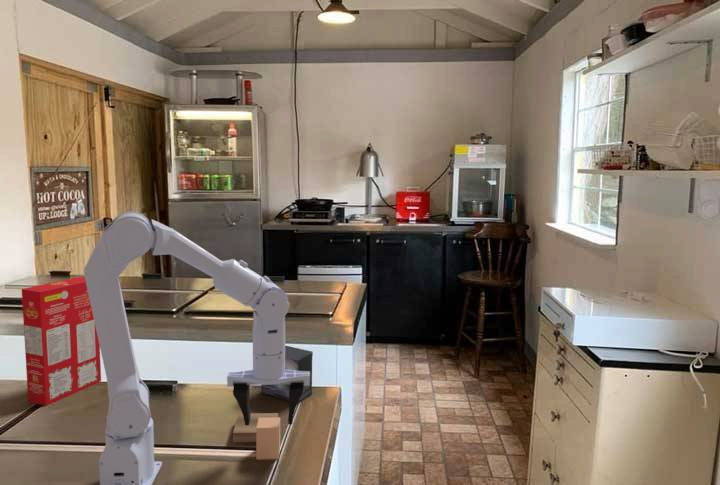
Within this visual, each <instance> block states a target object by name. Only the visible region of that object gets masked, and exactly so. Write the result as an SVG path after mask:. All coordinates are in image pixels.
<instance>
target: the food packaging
mask: <svg viewBox="0 0 720 485" xmlns="http://www.w3.org/2000/svg"><path fill="white" fill-rule="evenodd" d="M21 301H22V302H21V303H22V304H21V305H22V318H23V320H22V322H23V335H24V350H25V352H24V354H25V371H26V382H27V383H26V385H27V402H29V403H33V404H37V405H40V406H45V407H47V406H49V405H51V404H55V402H58V401H61V400H62V399H65V398H67V397H69V396H71V395H74V394H77V393H79V392H80V391H82V390H84V389H85V390H86V389H87V388H89V387H91V386H93V385H96V384H98V383H100V382H102V371H101V370H102V368H101V367H102V366H101V349H100V345H99V340H98V336H97V331H96V326H95V322H94V317H93V312H92V308H91V303H90V299H89V294H88V289H87V285H86V280H85V276H78V277H77V276H76V277H73V278H68V279H64V280H58V281H54V282H50V283H49V282H48V283H43V284H40V285H35V286H30V287H26V288H22V289H21Z"/></svg>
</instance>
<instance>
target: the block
mask: <svg viewBox="0 0 720 485" xmlns="http://www.w3.org/2000/svg"><path fill="white" fill-rule="evenodd" d="M255 443H256V450H255V451H256V455H255V456H256V458H255V459H256V460H259V461H260V460H279V459H280V455H281V454H280V452H281V417H279V416H278V417H271V418H258V423H257V428H256V442H255Z"/></svg>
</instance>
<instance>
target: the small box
mask: <svg viewBox="0 0 720 485" xmlns="http://www.w3.org/2000/svg"><path fill="white" fill-rule="evenodd" d="M313 352H314V351H310V350H308V349H303V348H298V347H293V346H289V345H285V369H288V370H296V371H309V372H310V385H309V386H304V385H303V393H302V395H301V397H300V399H299V401H298V403H297V404H299V403H301V402H303V401H304V400H305V399H307V398H309V397H310V396H311V395H313V355H314V354H313ZM260 386H261V387H260V390H261V391H260V393H261V394H263V395H267V396H270V397H274V398H277V399H281V400H284V401H288V402H289V387H290V384H278V385H260Z"/></svg>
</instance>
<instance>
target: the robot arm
mask: <svg viewBox="0 0 720 485" xmlns="http://www.w3.org/2000/svg"><path fill="white" fill-rule="evenodd" d="M150 220H151V221H150ZM150 249H151V250H150ZM149 250H150V251H151V254H152V256H161V255H162V256H163V255H170V256H173V257H175V258H177V259H178V260H181V261H182V262H184V263H186V264H188V265H189V266H192V267H194V268H195V269H197V270H199V271H201V272H203V273H204V274H205V275H208V276H210V277H211V278H212V281H213V285H214V286H213V287H214V288H215V289H216V290H217V291H219V292H221V293H223V294H225V295H226V296H228V297H230V298H232V299H233V300H235V301H236V302H238V303H240V304H241V305H244V306H245V307H251V308H252V309H253V310H254V311H253V315H252V316H253V322H252V369H249V370H241V371H233V372H232V371H231V372H228V374H227V376H226V382H227V383H226V384H227V386H226V387H227V388H228V387H231V388H232V387H233V390H232V394H233V397H234V399H235V400H236V402H237V403H238V406H239V407H240V410H241V414H243V417H244V421H245V425H249V423H250V413H251V407H250V406H251V405H250V391H251V390H250V389H251V387H250V386H251V385H252V386H258V385H259V386H261V385H278V384H290V387H289V401H288V406H289V407H288V417H287V418H288V420H287V424H288V425H293V420H294V414H295V411H296V408H297V406H298V404H299V403H298V401H299V399H300V397H301V395H302V393H303V385H304V386H309V385H310V372H309V371H296V370H288V369H285V346H286V315H287V314H288V312H289V309H290V307H291V303H290V302H289V298H288V295H287V293H286V292H285V291H284V290H283V289H282V288H280V287H279V286H278V285H277V284H275V283H274V282H273V281H272V280H271V279H270V277H268V276H267V275H264V276H261V275H260V274H258V273H257V272H255V271H253V270H252V269H250V268H249V267H248V265H249V264H248V263H247V262H245V261H244V260H242V259H239V261H237V260H236V259H235V258H231V259H227V260H221V259H219V258H218V257H216V256H215V255H213V254H212V253H210V252H209V251H207V250H205V249H204V248H203V247H201V246H200V245H198V244H196V243H195V242H193V241H192V240H190V239H189V238H187V236H184V235H183V234H181V233H180V232H178V231H176V230H175V229H173V228H171V227H169V226H168V225H166V224H164V223H161V222H159V221H156V220H154V219H149V218H147V216H145V215H144V214H143V213H140V212H138V211H125V212H122V213H120V214H118V215H117V216H116V217H115V218H114V219H113V220H112V221H110V222H109V223H108V224H107V225H106V226H105V227H104V228H103V231H102V233H101V235H100V237H99V239H98V241H97V242H96V245H95V246H94V249H93V250H92V253H91V254H90V257H89V258H88V261H87V262H86V264H85V266H84V269H83V272H84V273H83V274H84V276H83V277H85V280H86V285H87V289H88V294H89V299H90V303H91V308H92V312H93V317H94V322H95V326H96V331H97V336H98V340H99V345H100V355H101V358H102V364H103V368H104V372H105V376H106V382H107V394H108V401H109V404H108V405H109V406H108V411H107V416H106V424H105V429H104V430H105V445H104V448H103V451H102V453H101V454H100V457H99V460H98V470H99V472H98V473H99V485H153V483H154V481H155V479H156V477H157V475H158V473H159V471H160V469H161V467H162V465H163V461H155V435H154V420H153V418H152V417H151V416H152V414H151V409H150V401H149V400H150V390H149V387H148V386H147V384H146V383H145V382H144V381H143V380H142V379H141V376H140V371H139V368H138V365H137V362H136V361H137V360H136V356H135V351H134V346H133V342H132V336H131V333H130V327H129V322H128V318H127V317H128V316H127V312H126V307H125V302H124V298H123V292H122V288H121V283H120V279H119V277H120V276H121V274H122V273H123V272H124V271H125V269H127V267H128V266H129V265H130V263H132V262H134V261H136V260H137V259H139V258H140V257H142V256H143V255H145V254H146V253H147V252H149Z"/></svg>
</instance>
